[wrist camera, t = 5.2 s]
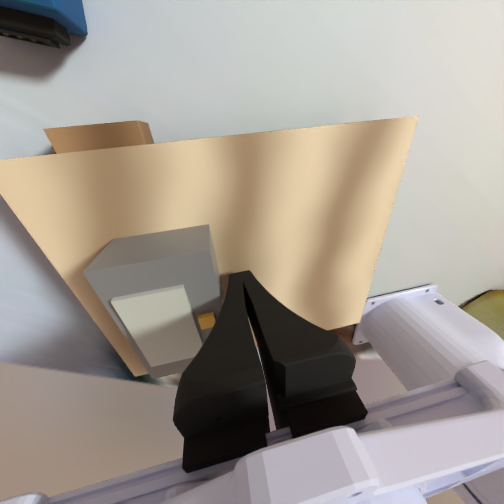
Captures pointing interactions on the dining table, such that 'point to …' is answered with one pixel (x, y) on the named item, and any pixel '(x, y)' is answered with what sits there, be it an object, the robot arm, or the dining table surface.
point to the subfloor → (221, 206)
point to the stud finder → (161, 294)
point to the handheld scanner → (42, 20)
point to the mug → (489, 311)
